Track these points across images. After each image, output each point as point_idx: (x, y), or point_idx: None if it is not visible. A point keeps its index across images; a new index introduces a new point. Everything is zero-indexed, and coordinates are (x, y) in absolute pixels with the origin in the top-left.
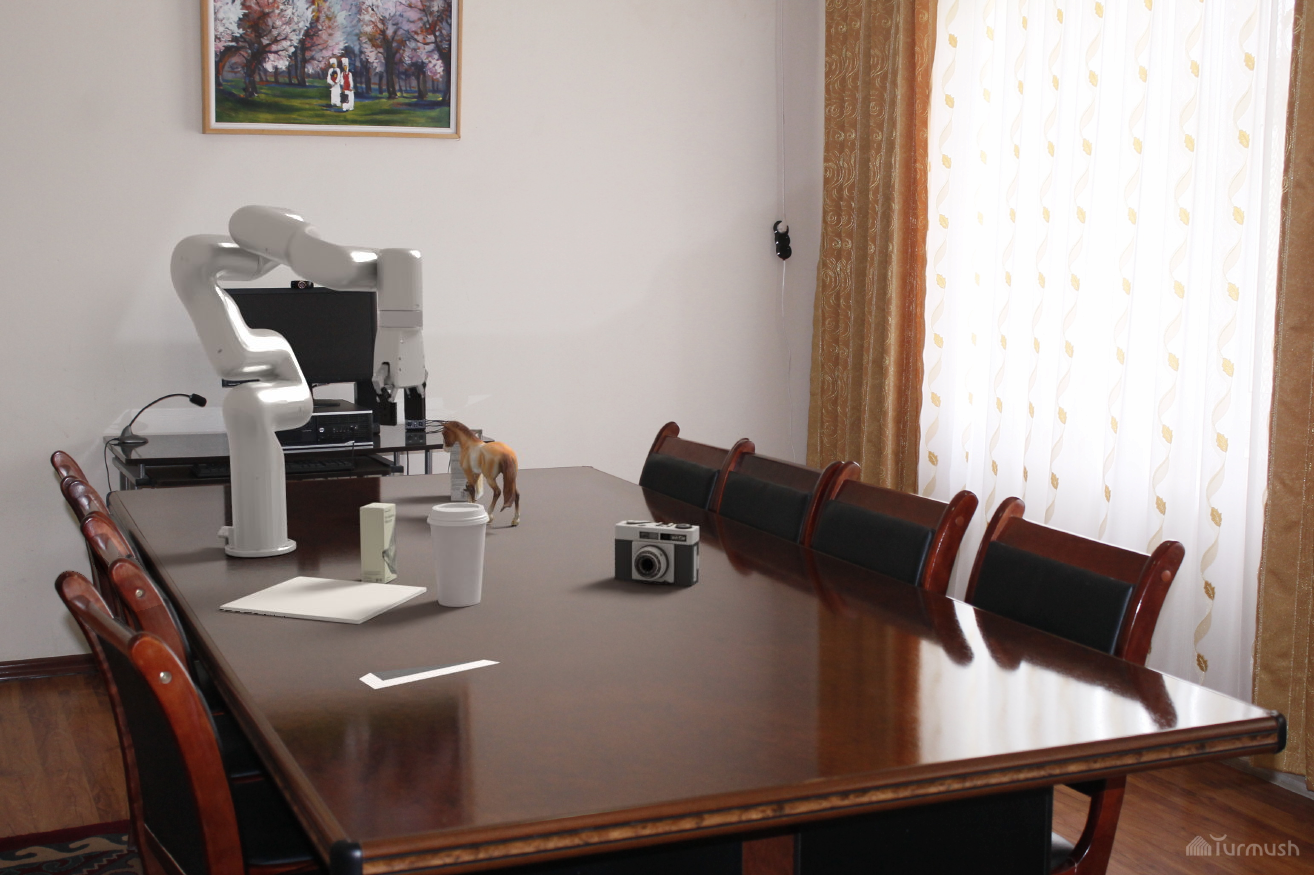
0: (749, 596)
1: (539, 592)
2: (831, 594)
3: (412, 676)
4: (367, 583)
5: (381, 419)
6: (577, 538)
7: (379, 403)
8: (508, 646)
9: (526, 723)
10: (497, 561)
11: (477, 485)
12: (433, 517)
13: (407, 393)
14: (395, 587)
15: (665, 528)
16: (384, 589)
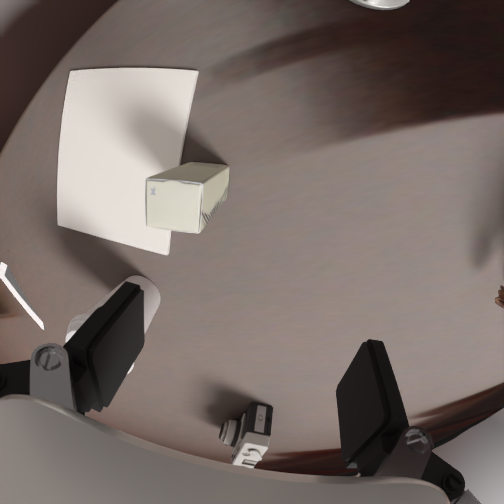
0: (216, 450)
1: (192, 355)
2: None
3: (13, 288)
4: None
5: (100, 307)
6: (437, 356)
7: (76, 342)
8: (64, 334)
9: (8, 338)
10: (331, 303)
11: None
12: (68, 327)
13: (395, 444)
14: None
15: (235, 462)
16: None
